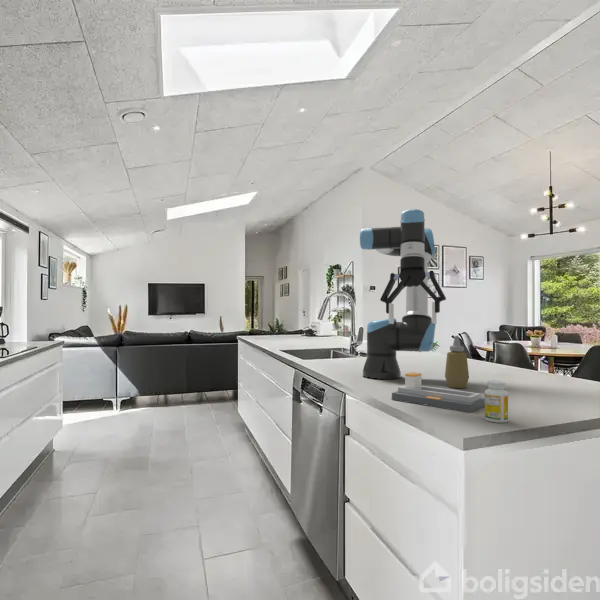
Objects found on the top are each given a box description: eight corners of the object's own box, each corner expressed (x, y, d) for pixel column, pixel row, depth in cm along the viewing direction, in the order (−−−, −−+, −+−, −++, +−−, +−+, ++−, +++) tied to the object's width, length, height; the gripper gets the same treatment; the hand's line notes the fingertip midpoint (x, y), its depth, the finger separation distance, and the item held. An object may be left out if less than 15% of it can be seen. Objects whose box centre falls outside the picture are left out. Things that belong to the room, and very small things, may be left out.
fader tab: (405, 391, 136) (405, 373, 136) (412, 389, 139) (412, 372, 139) (414, 392, 134) (414, 375, 134) (421, 390, 137) (421, 373, 137)
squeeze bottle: (472, 389, 151) (472, 336, 152) (448, 389, 152) (448, 336, 152) (464, 385, 160) (464, 335, 160) (441, 385, 160) (441, 335, 160)
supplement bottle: (491, 423, 107) (491, 383, 107) (480, 417, 112) (480, 380, 113) (512, 422, 108) (512, 383, 108) (500, 417, 113) (500, 379, 113)
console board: (391, 399, 134) (391, 387, 135) (411, 393, 143) (411, 383, 143) (470, 412, 118) (470, 399, 118) (486, 404, 127) (486, 392, 127)
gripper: (371, 258, 145) (370, 322, 142) (450, 251, 133) (451, 322, 130) (378, 262, 151) (377, 324, 148) (454, 257, 139) (455, 324, 136)
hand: (412, 323), depth 139 cm, fingers open, 13 cm apart
